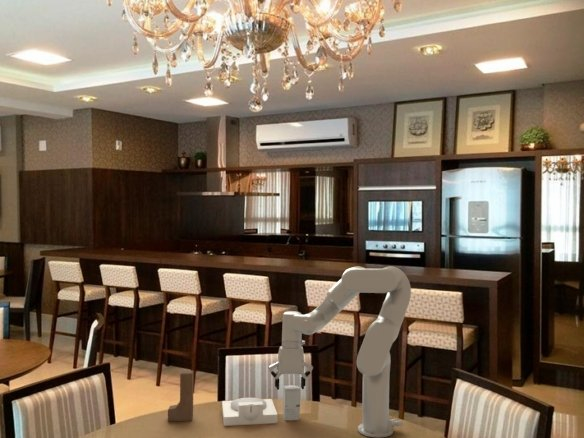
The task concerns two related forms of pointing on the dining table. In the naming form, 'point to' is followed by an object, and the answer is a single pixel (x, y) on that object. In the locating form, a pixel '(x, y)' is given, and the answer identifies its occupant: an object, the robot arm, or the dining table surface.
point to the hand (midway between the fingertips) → (290, 388)
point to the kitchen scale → (249, 411)
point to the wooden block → (183, 399)
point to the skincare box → (291, 403)
